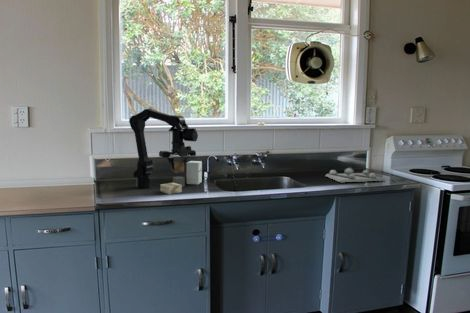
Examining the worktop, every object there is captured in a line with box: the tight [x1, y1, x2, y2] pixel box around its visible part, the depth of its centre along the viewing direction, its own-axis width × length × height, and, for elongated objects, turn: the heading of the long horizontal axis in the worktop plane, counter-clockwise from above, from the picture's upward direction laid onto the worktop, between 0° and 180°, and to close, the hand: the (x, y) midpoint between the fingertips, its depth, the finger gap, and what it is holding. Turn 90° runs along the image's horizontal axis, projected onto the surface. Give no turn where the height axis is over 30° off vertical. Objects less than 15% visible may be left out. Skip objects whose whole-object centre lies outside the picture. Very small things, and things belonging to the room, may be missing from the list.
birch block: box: [159, 182, 183, 195], centre depth 212 cm, size 8×8×4 cm
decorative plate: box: [324, 167, 386, 184], centre depth 251 cm, size 30×22×7 cm
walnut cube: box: [170, 160, 185, 174], centre depth 212 cm, size 5×5×5 cm
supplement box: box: [186, 160, 203, 186], centre depth 233 cm, size 7×7×13 cm
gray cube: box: [172, 175, 186, 188], centre depth 226 cm, size 5×5×5 cm
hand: (177, 169), depth 212 cm, fingers closed on walnut cube, 5 cm apart
